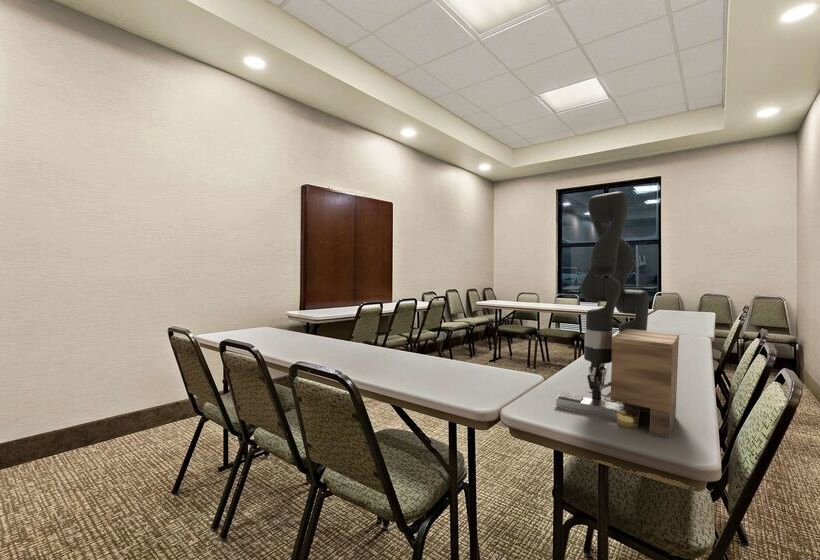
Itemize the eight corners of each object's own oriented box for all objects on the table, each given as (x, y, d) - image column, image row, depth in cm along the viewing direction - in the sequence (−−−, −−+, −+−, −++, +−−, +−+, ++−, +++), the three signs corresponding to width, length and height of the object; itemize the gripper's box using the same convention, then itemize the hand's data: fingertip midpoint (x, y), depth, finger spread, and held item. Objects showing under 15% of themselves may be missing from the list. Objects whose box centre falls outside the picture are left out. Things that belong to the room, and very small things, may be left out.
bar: (560, 402, 119) (560, 390, 118) (639, 418, 107) (639, 405, 107) (555, 408, 114) (556, 396, 113) (638, 425, 102) (638, 412, 102)
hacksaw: (615, 382, 141) (615, 377, 141) (646, 389, 133) (646, 385, 133) (581, 394, 126) (581, 390, 126) (614, 403, 118) (614, 399, 118)
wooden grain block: (623, 405, 116) (626, 328, 115) (675, 416, 108) (679, 334, 107) (609, 424, 101) (612, 337, 100) (668, 439, 93) (672, 344, 92)
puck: (618, 419, 105) (618, 408, 105) (639, 424, 102) (639, 413, 102) (614, 425, 101) (614, 413, 101) (636, 430, 98) (636, 418, 98)
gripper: (590, 339, 121) (588, 394, 122) (578, 346, 111) (576, 405, 112) (617, 343, 117) (615, 399, 117) (607, 350, 106) (604, 412, 107)
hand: (596, 402), depth 114 cm, fingers closed
